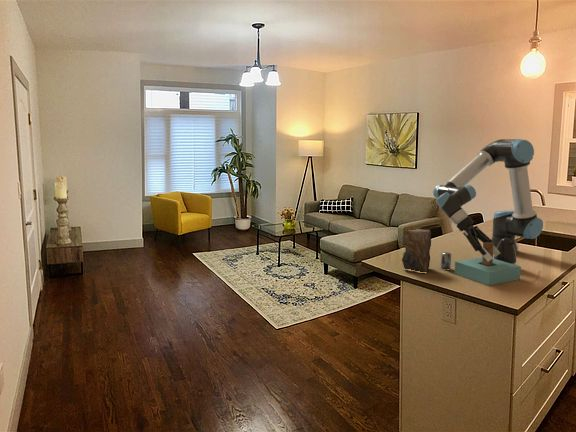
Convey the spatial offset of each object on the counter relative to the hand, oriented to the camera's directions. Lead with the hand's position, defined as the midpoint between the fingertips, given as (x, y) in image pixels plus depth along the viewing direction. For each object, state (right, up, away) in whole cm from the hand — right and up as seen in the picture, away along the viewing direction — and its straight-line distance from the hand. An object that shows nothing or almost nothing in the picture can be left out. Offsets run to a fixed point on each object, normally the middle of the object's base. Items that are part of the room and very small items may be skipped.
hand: (494, 257), depth 210 cm
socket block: (-2, -9, +4) cm, 10 cm away
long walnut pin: (-2, -9, +4) cm, 10 cm away
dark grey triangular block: (+13, -7, +17) cm, 22 cm away
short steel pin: (-17, -7, +16) cm, 25 cm away
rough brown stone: (-31, -8, +14) cm, 35 cm away
